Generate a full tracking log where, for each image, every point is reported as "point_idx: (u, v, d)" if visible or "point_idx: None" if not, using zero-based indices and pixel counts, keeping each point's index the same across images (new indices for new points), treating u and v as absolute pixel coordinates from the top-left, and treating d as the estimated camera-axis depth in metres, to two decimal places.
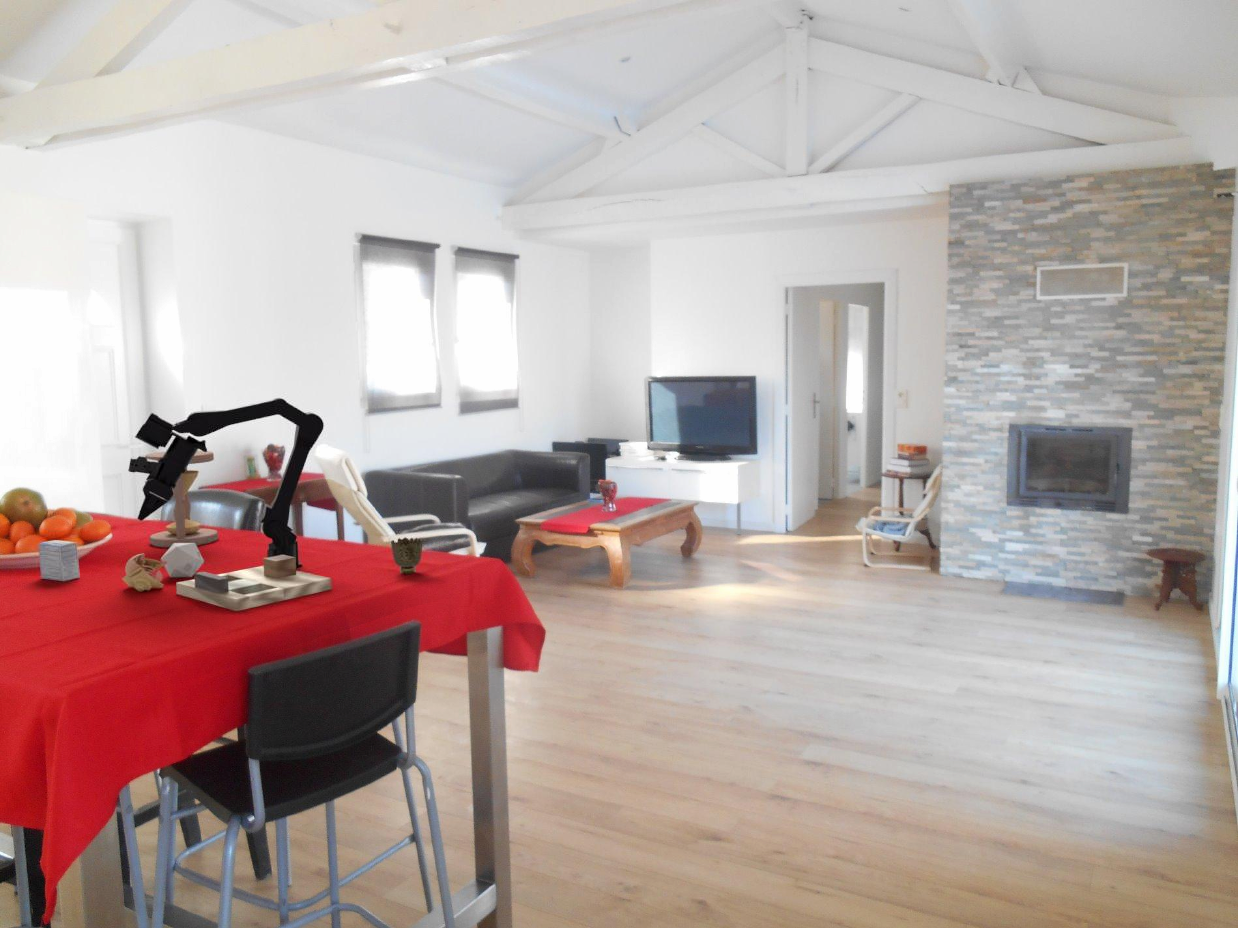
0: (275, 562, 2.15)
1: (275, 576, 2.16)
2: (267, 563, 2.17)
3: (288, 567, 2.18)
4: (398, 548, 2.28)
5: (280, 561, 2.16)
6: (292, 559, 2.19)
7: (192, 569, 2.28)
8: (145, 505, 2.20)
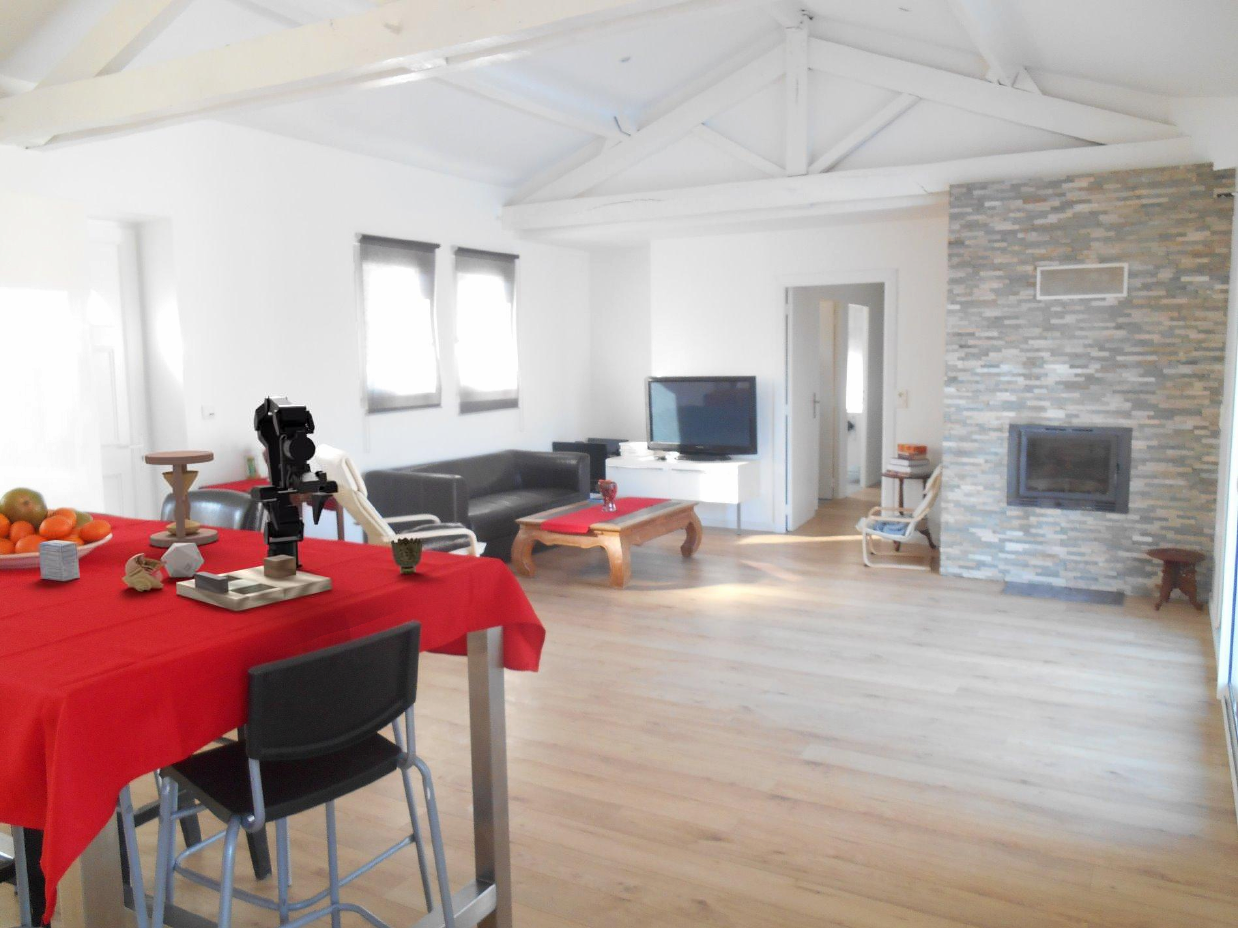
0: (275, 562, 2.15)
1: (275, 576, 2.16)
2: (267, 563, 2.17)
3: (288, 567, 2.18)
4: (398, 548, 2.28)
5: (280, 561, 2.16)
6: (292, 559, 2.19)
7: (192, 569, 2.28)
8: None
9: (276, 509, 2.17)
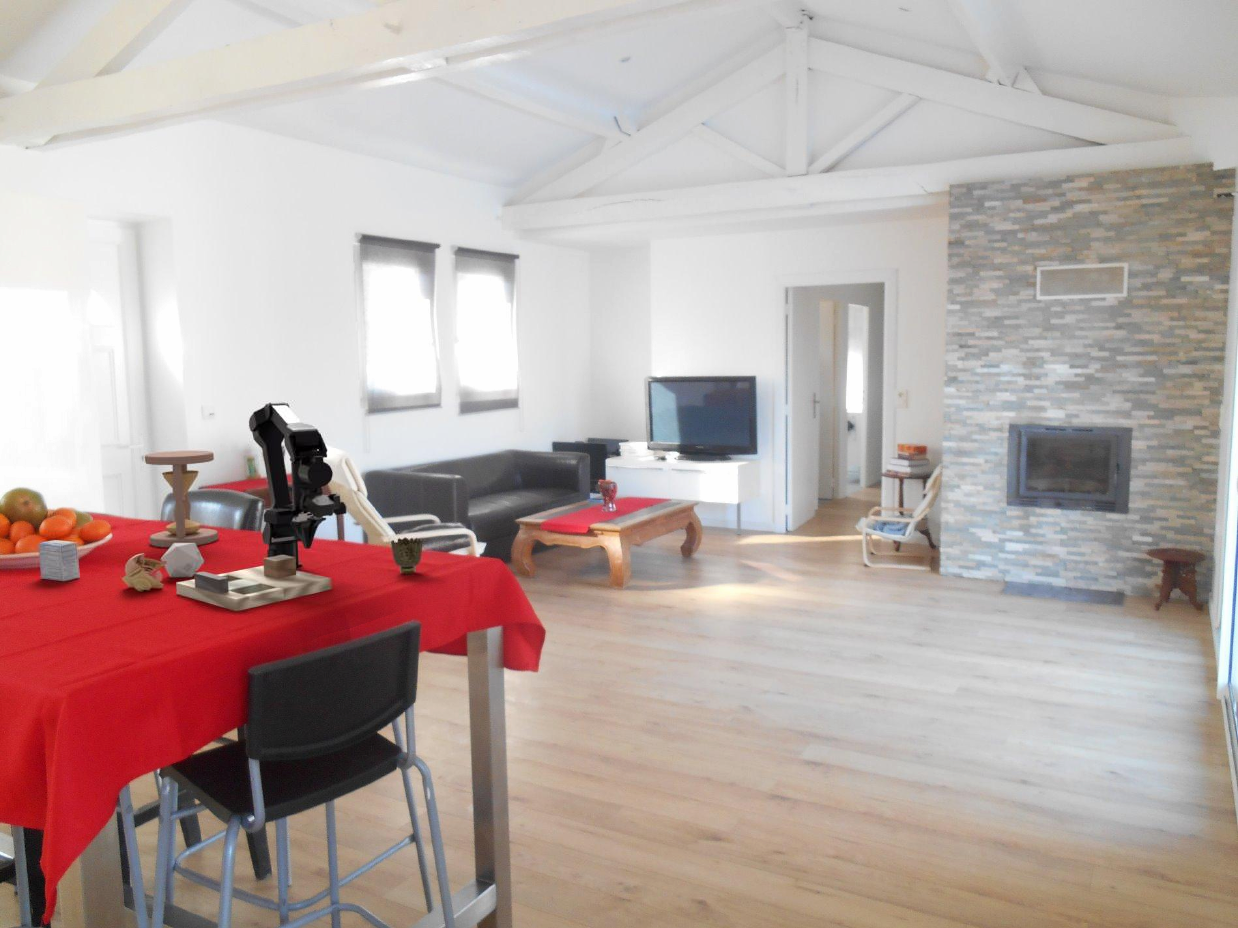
0: (275, 562, 2.15)
1: (275, 576, 2.16)
2: (267, 563, 2.17)
3: (288, 567, 2.18)
4: (398, 548, 2.28)
5: (280, 561, 2.16)
6: (292, 559, 2.19)
7: (192, 569, 2.28)
8: None
9: (307, 529, 2.22)
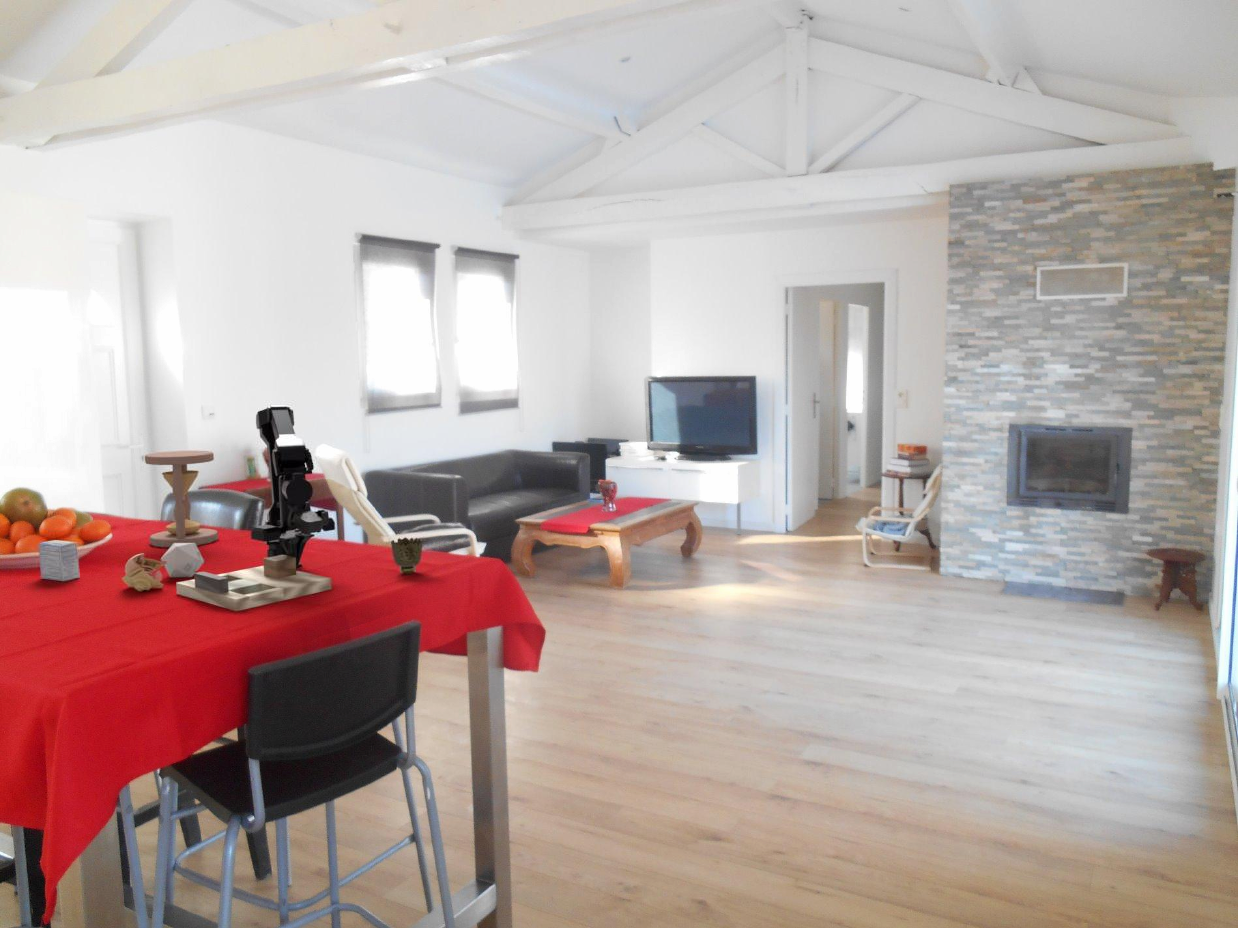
0: (275, 562, 2.15)
1: (275, 576, 2.16)
2: (267, 563, 2.17)
3: (288, 567, 2.18)
4: (398, 548, 2.28)
5: (280, 561, 2.16)
6: (292, 559, 2.19)
7: (192, 569, 2.28)
8: None
9: (295, 546, 2.20)
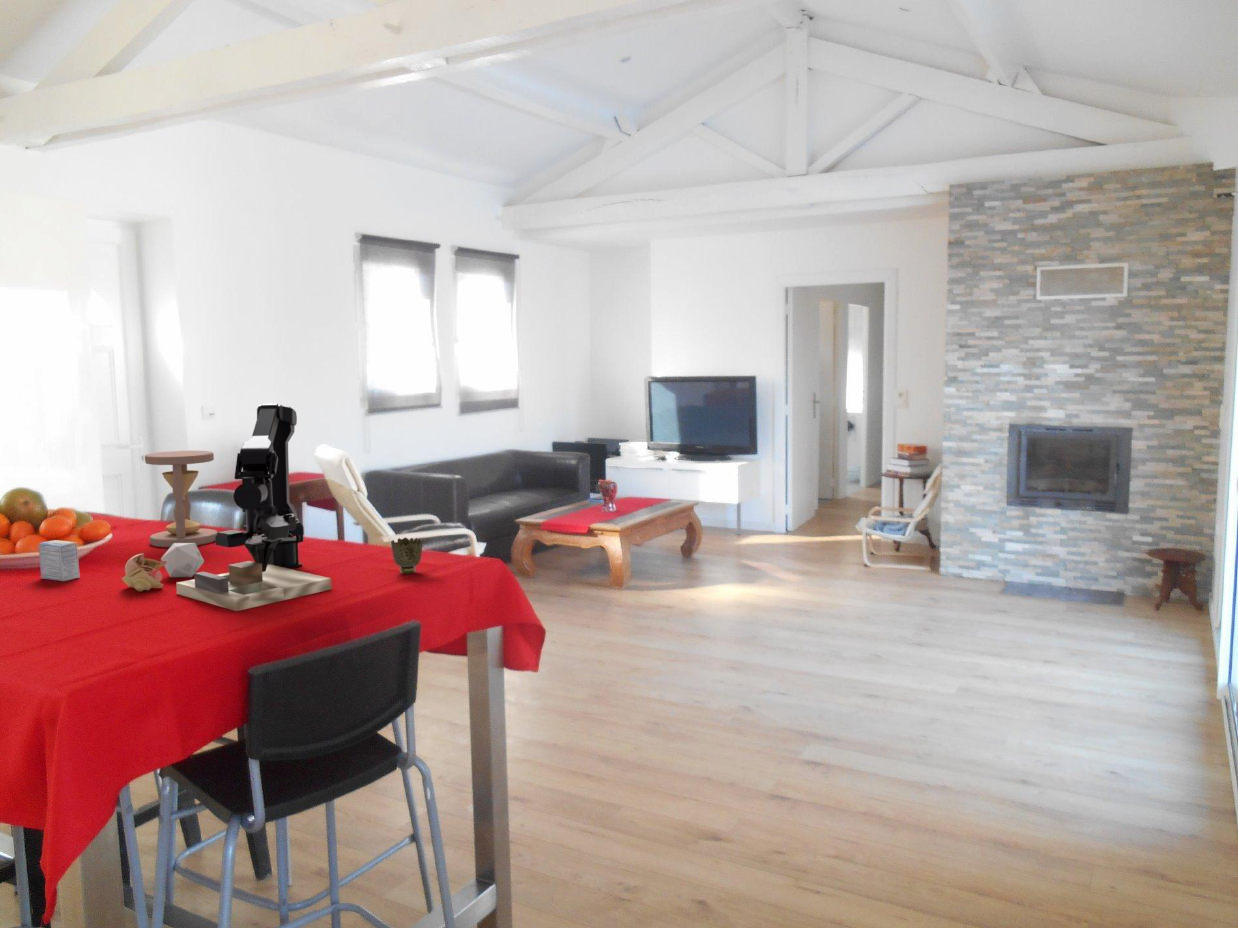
0: (240, 569, 2.09)
1: (240, 583, 2.09)
2: (232, 570, 2.11)
3: (254, 574, 2.11)
4: (398, 548, 2.28)
5: (245, 568, 2.10)
6: (258, 565, 2.12)
7: (192, 569, 2.28)
8: None
9: (261, 552, 2.13)
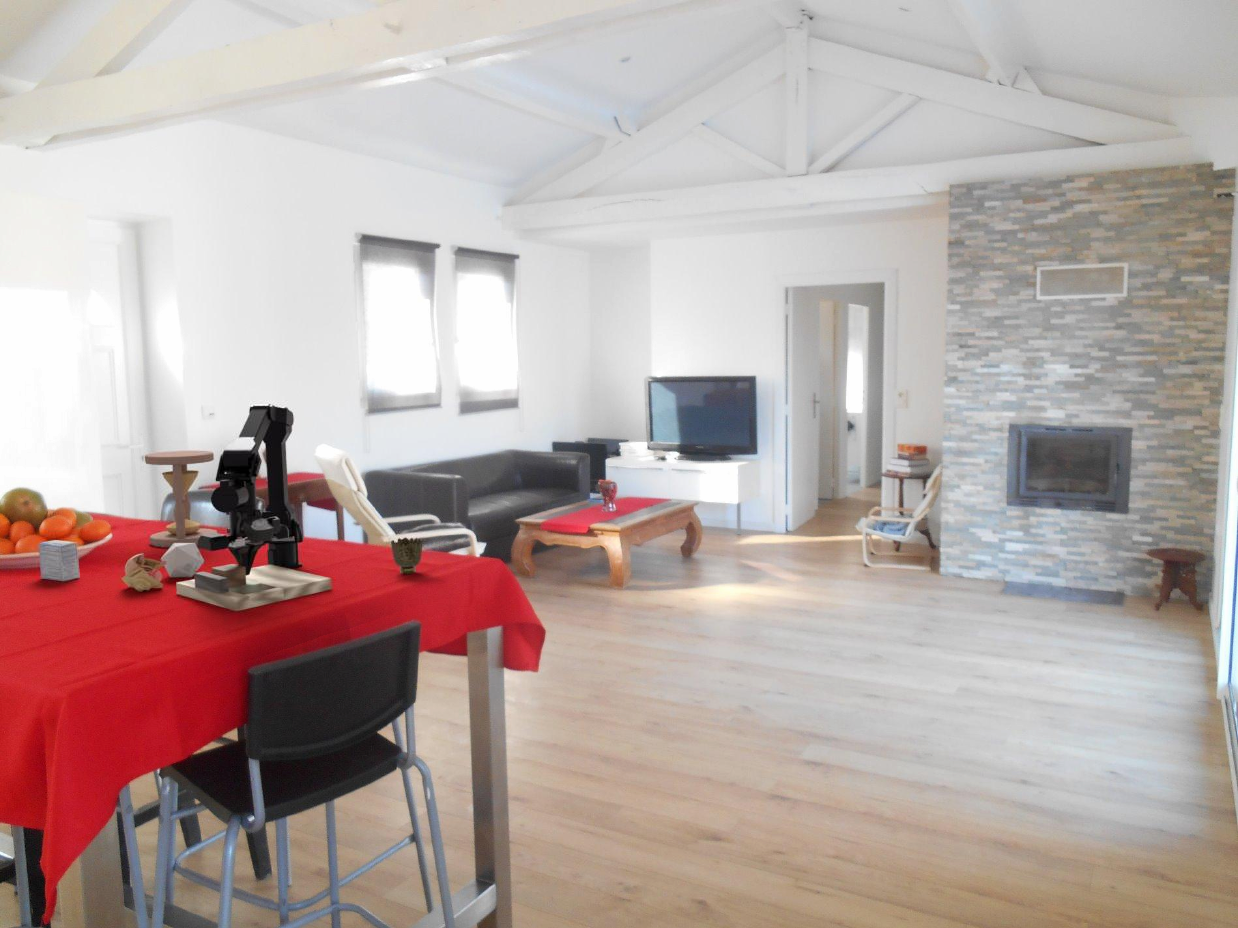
0: (223, 572, 2.06)
1: None
2: (215, 573, 2.08)
3: (237, 577, 2.08)
4: (398, 548, 2.28)
5: (228, 571, 2.07)
6: (242, 569, 2.09)
7: (192, 569, 2.28)
8: None
9: (245, 555, 2.10)
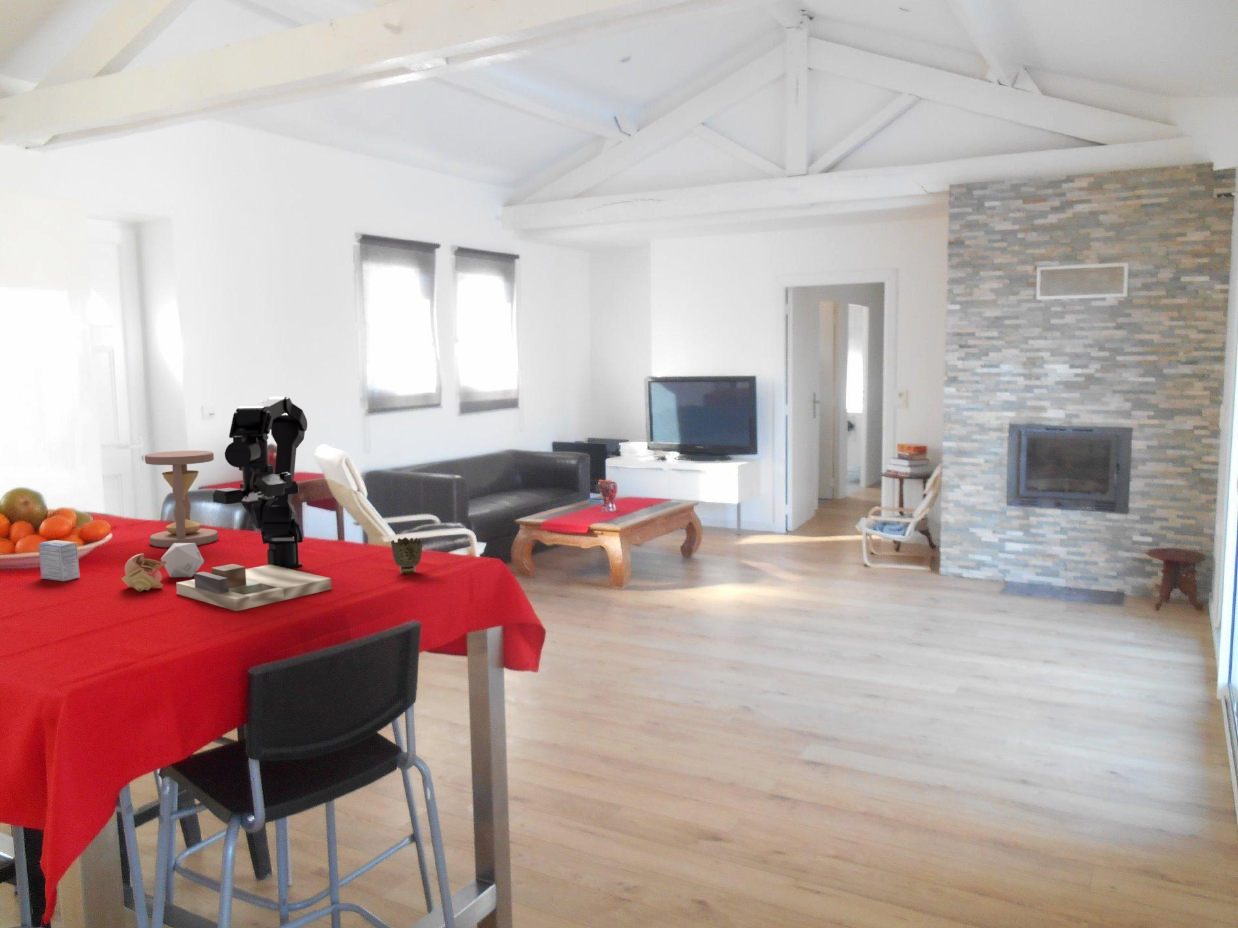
0: (223, 572, 2.06)
1: None
2: (215, 573, 2.08)
3: (237, 577, 2.08)
4: (398, 548, 2.28)
5: (228, 571, 2.07)
6: (242, 569, 2.09)
7: (192, 569, 2.28)
8: None
9: (258, 509, 2.20)
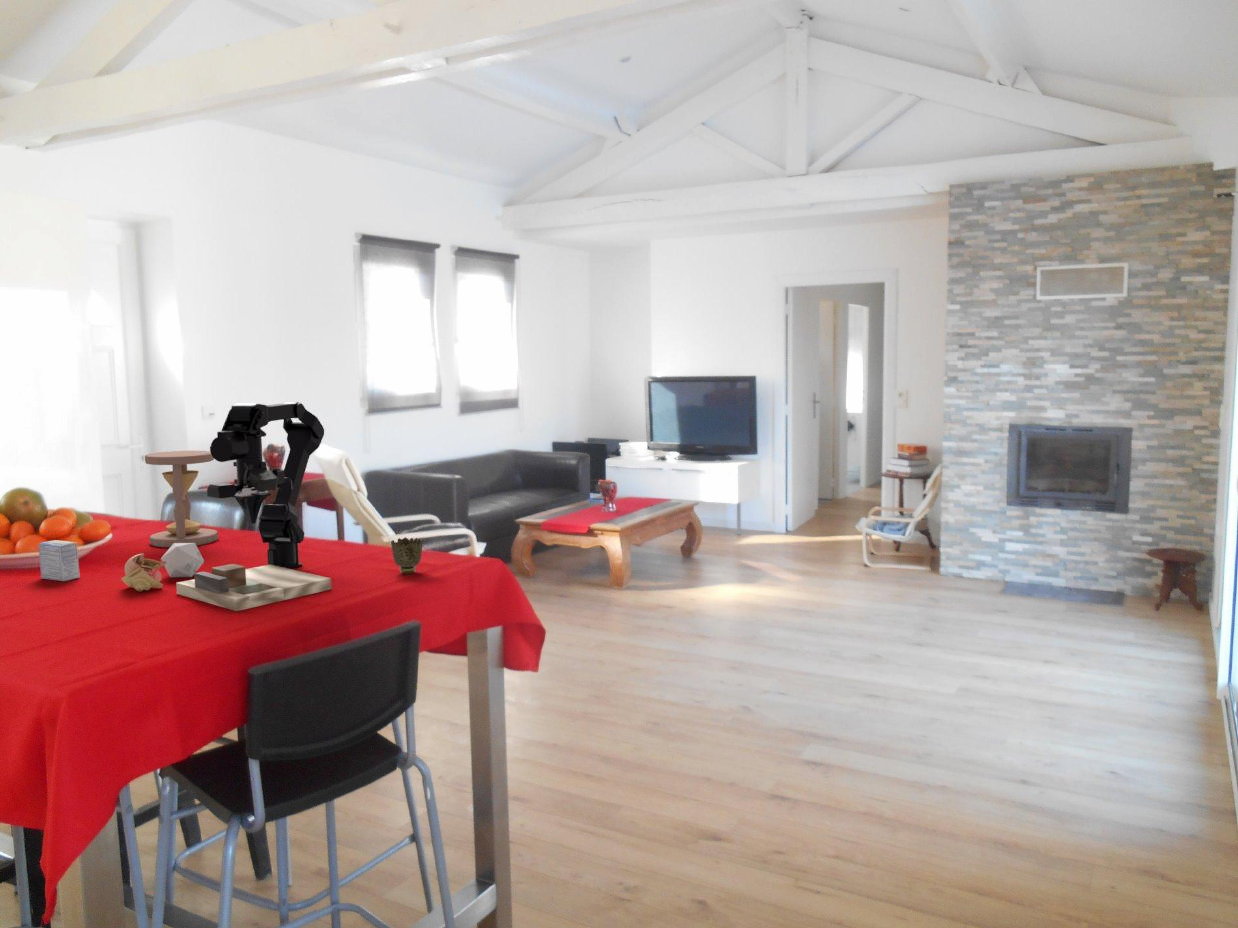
0: (223, 572, 2.06)
1: None
2: (215, 573, 2.08)
3: (237, 577, 2.08)
4: (398, 548, 2.28)
5: (228, 571, 2.07)
6: (242, 569, 2.09)
7: (192, 569, 2.28)
8: None
9: (251, 504, 2.24)
